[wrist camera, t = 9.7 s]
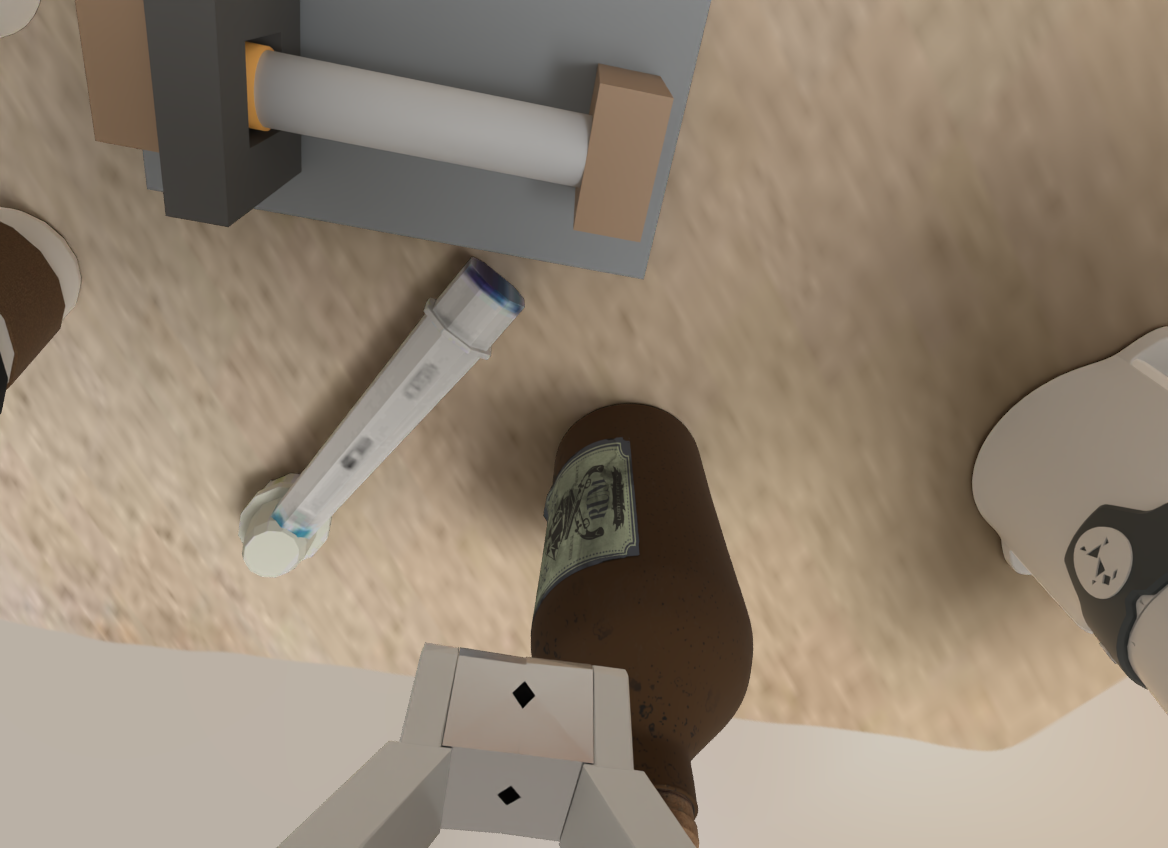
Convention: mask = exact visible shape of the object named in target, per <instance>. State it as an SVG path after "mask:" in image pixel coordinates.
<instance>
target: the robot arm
mask: <svg viewBox="0 0 1168 848" xmlns="http://www.w3.org/2000/svg"><path fill="white" fill-rule="evenodd" d="M972 489H973V496H974V500H975V503H976V506H977V508H978V510H979V512H980V513H981V515H982V516H983V518H984V519H985V520H986V521H987V522H988V523H989V524H990V525H991V526H992V527H993V528H994V529H995V531H996V532H997V533H998V534H999V536H1000V538H1001V543H1002V549H1003V554H1004V557H1005V560H1006V561H1007V563H1008V564H1009V565H1010V566H1011V567H1012V568H1013V569H1014V570H1015V571H1016V572H1017V573H1019V574H1023V575H1033V576H1034V578H1035V579H1036V580H1037V581H1038V582H1039V583H1040V584H1041V586H1042V587H1043V588H1044V589H1045V590H1046V591H1047V592H1048V593H1049V595H1050V596H1051V597H1052V598H1053V599H1054V600H1055V601H1056V602H1057V603H1058V604H1059V606H1060V607H1061V608H1062V609H1063V610H1064V611H1065V612H1066V613H1067V614H1068V615H1069V617H1070V618H1071V619H1072V620H1073V621H1074V622H1075V623H1076V624H1077V625H1078V626H1079V627H1080V628H1081V629H1083V630H1084V631H1086V632H1088V633H1091V634H1092V633H1094V635H1095V636H1096V637H1097V639H1098V640H1099V641H1100V643H1099V644H1100V646H1101V647H1102V648H1103V650H1104V651H1105V652H1106V654H1107V655H1108V656H1109V657H1110V659H1111V660H1112V661H1113V662H1114V663H1115V664H1118V665H1119V666H1120V668H1121V669H1122V670H1123V671H1124V672H1125V673H1126V675H1127V676H1128V677H1129V678H1130V679H1131V680H1133V681H1134V682H1135V683H1136V684H1138V685H1140V686H1142V687H1144V688H1145V689H1148V690H1149V691H1150V693H1151V694H1152V695H1153V697H1154V698H1155V699H1156V701H1157V702H1158V703H1159V705H1160V706H1161V707H1162V708H1163V710H1164V711H1165V712H1166V714H1167V715H1168V326H1166V327H1161V328H1158V329H1156V330H1153V331H1151V332H1150V333H1148V334H1146V335H1144V336H1143V337H1141V338H1139V339H1138V340H1136V341H1135V342H1133V343H1132V344H1130V345H1129V346H1127V347H1126V348H1124V349H1123V350H1122V351H1120V352H1119V353H1117V354H1116V355H1114V356H1112V357H1109V358H1107V359H1105V360H1102V361H1099V362H1096V363H1093V364H1090V365H1087V366H1084V367H1081V368H1078V369H1075V370H1073V371H1070V372H1068V373H1065V374H1063V375H1061V376H1059V377H1057V378H1055V379H1053V380H1051V381H1049V382H1047V383H1045V384H1044V385H1042V386H1040V387H1039V388H1037V389H1036V390H1034V391H1033V392H1031V393H1030V394H1028V395H1027V396H1026V397H1024V398H1023V399H1022V400H1021V401H1019V402H1018V403H1017V404H1016V405H1015V406H1014V407H1012V408H1011V409H1010V410H1009V411H1008V412H1007V413H1006V414H1005V415H1004V416H1003V417H1002V419H1001V420H1000V421H999V422H998V423H997V424H996V426H995V427H994V428H993V429H992V431H991V432H990V434H989V435H988V437H987V438H986V440H985V442H984V444H983V445H982V447H981V449H980V452H979V454H978V456H977V459H976V462H975V466H974V471H973V478H972ZM440 828H441V829H454V830H466V831H478V832H491V833H502V834H509V835H516V836H523V837H531V838H538V839H546V840H553V841H559V842H560V843H559V846H560V848H696V847H695V845H694V844H693V842H692V841H691V840H690V838H689V837H688V835H687V834H686V832H685V831H684V829H683V828H682V826H681V825H680V823H679V822H678V821H677V819H676V818H675V816H674V815H673V813H672V812H671V810H670V809H669V807H668V806H667V805H666V803H665V802H664V800H663V799H662V797H661V796H660V794H659V793H658V791H657V790H656V788H655V787H654V786H653V784H652V783H651V781H650V780H649V778H648V777H647V775H646V774H645V772H644V771H638V770H634V765H633V748H632V731H631V714H630V697H629V679H628V674H627V672H626V670H625V669H618V668H610V667H602V666H595V665H593V666H591V664H583V663H575V662H566V661H558V660H549V659H541V658H533V657H526V658H524V657H517V656H511V655H505V654H499V653H492V652H486V651H480V650H473V649H467V648H461V647H460V651H459V647H452V646H445V645H439V644H432V643H425V644H424V647H423V649H422V651H421V655H420V659H419V663H418V667H417V671H416V676H415V680H414V684H413V688H412V692H411V696H410V700H409V705H408V709H407V713H406V717H405V721H404V725H403V729H402V733H401V738H400V742H397V741H396V742H395V741H388V742H387V743H386V744H385V745H384V746H383V747H382V748H381V749H380V750H379V751H378V752H377V753H376V754H375V755H374V756H372V758H370V760H368V761H367V762H366V763H365V764H364V765H363V766H362V767H361V768H360V769H359V770H358V771H357V772H356V773H355V774H353V775H352V776H351V777H350V778H349V779H348V780H347V781H346V782H345V783H344V784H343V785H342V786H341V787H340V788H339V789H338V790H337V791H336V792H335V793H333V795H331V796H330V797H329V798H328V799H327V800H326V801H325V802H324V803H323V804H322V805H321V806H320V807H319V808H318V809H317V810H316V811H315V812H313V813H312V814H311V815H310V816H309V817H308V818H307V819H306V820H305V821H304V822H303V823H302V824H301V825H300V826H299V827H298V828H297V829H296V830H295V831H293V833H292V834H290V835H289V836H288V837H287V838H286V839H285V840H284V841H283V842H282V843H281V844H280V845H279V846H278V847H277V848H428V847H429V846H430V844H431V843H432V842H433V841H434V839H435V838H436V837H437V835H438V834H439V833H440Z"/></svg>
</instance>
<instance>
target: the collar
mask: <svg viewBox="0 0 1168 848" xmlns="http://www.w3.org/2000/svg"><path fill="white" fill-rule="evenodd" d="M143 3H144V12H145V22H146V31H147V41H148V51H149V60H150V70H151V79H152V89H153V98H154V108H155V117H156V127H157V136H158V146H159V156H160V165H161V175H162V184H163V194H164V203H165V213H166V216H170V217H175V218H181V219H186V220H192V221H198V222H203V223H209V224H214V225H220V226H225V227H229V226H230V225H232V224H233V223H234V222H236V221H237V220H238V219H240V218H241V217H242V216H244V215H245V214H246V213H248V212H249V211H250V210H252V209H253V208H254V207H256V206H257V205H258V204H260V203H261V202H262V201H264V200H265V199H266V198H268V197H269V196H270V195H271V194H273V193H274V192H275V191H277V190H278V189H279V188H281V187H282V186H283V185H285V184H286V183H287V182H289V181H290V180H291V179H293V178H294V177H295V176H297V175H298V174H299V173H301V172H302V167H301V134H297V133H292V132H287V131H281V130H276V129H270V130H269V131H262V130H256V129H251V128H249V123H248V101H247V78H246V55H245V41H246V42H251V43H256V44H261V45H266V46H270V47H271V48H272V49H273V50H274V51H276V52H280V53H285V54H290V55H295V56H300V0H143ZM300 57H301V56H300Z"/></svg>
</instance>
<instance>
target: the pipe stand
mask: <svg viewBox="0 0 1168 848" xmlns="http://www.w3.org/2000/svg"><path fill="white" fill-rule="evenodd" d="M710 3H711V0H300V56H301V57H300V56H295V55H290V54H285V53H280V52H276V51H274V50H273V49H272V48H271V47H270V46H266V45H261V44H256V43H251V42H246V41H245V55H246V78H247V101H248V123H249V128H251V129H256V130H262V131H269V130H270V129H276V130H281V131H287V132H292V133H297V134H301V167H302V172H301V173H299V174H298V175H297V176H295V177H294V178H293V179H291V180H290V181H289V182H287V183H286V184H285V185H283V186H282V187H281V188H279V189H278V190H277V191H275V192H274V193H273V194H271V195H270V196H269V197H268V198H266V199H265V200H264V201H262V202H261V203H260V204H258V205H257V206H256V207H254V209H259V210H265V211H270V212H276V213H281V214H287V215H292V216H298V217H303V218H309V219H314V220H320V221H325V222H331V223H336V224H342V225H347V226H353V227H358V228H364V229H369V230H375V231H380V232H386V233H391V234H397V235H402V236H408V237H413V238H419V239H424V240H430V241H435V242H441V243H446V244H452V245H457V246H463V247H468V248H474V249H479V250H485V251H490V252H496V253H501V254H507V255H512V256H518V257H523V258H529V259H534V260H540V261H545V262H551V263H556V264H562V265H567V266H573V267H578V268H583V269H589V270H594V271H600V272H605V273H611V274H616V275H622V276H627V277H633V278H638V279H644V276H645V272H646V267H647V263H648V259H649V255H650V251H651V247H652V243H653V239H654V234H655V230H656V226H657V222H658V218H659V214H660V210H661V205H662V201H663V197H664V193H665V189H666V185H667V181H668V177H669V172H670V168H671V164H672V160H673V156H674V152H675V148H676V144H677V139H678V135H679V131H680V127H681V123H682V119H683V115H684V110H685V106H686V102H687V98H688V94H689V90H690V86H691V82H692V77H693V73H694V69H695V65H696V61H697V57H698V53H699V49H700V44H701V40H702V36H703V32H704V28H705V24H706V20H707V15H708V11H709V7H710ZM75 4H76V11H77V18H78V25H79V31H80V38H81V45H82V52H83V59H84V66H85V72H86V79H87V86H88V93H89V100H90V107H91V113H92V120H93V127H94V134H95V141H100V142H105V143H110V144H116V145H121V146H126V147H132V148H137V149H142V150H143V157H144V166H145V175H146V183H147V189H149V190H155V191H160V192H163V184H162V175H161V165H160V156H159V146H158V136H157V127H156V117H155V108H154V98H153V89H152V79H151V70H150V60H149V51H148V41H147V31H146V22H145V12H144V3H143V0H75Z"/></svg>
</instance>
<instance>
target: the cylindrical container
mask: <svg viewBox="0 0 1168 848" xmlns="http://www.w3.org/2000/svg"><path fill="white" fill-rule="evenodd" d="M39 3H40V0H0V38H1V37H5V36H8V35H11V34H14V33H16V32H17V31H19V30H20V29H22V28H23V27H25V26H26V25H27V24H28V23H29V21H30V20H31V19H32V18H33V17H34V15H35V13H36V10H37V8H38V6H39Z"/></svg>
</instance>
